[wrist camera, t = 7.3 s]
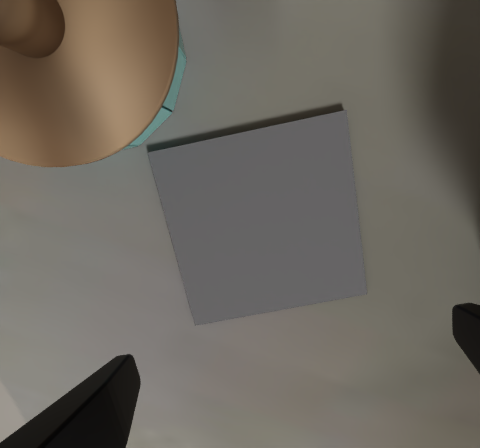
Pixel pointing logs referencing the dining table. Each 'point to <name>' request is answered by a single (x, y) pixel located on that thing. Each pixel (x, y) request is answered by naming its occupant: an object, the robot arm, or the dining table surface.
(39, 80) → the lid
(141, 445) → the dining table surface
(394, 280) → the dining table surface
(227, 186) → the mat
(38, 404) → the dining table surface
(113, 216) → the dining table surface
